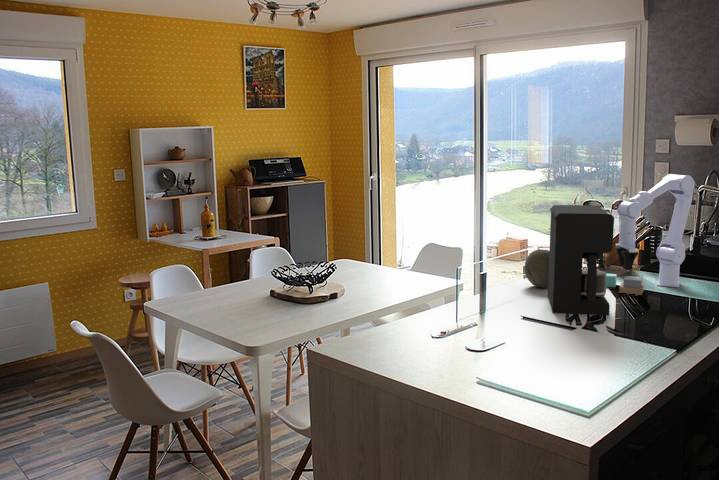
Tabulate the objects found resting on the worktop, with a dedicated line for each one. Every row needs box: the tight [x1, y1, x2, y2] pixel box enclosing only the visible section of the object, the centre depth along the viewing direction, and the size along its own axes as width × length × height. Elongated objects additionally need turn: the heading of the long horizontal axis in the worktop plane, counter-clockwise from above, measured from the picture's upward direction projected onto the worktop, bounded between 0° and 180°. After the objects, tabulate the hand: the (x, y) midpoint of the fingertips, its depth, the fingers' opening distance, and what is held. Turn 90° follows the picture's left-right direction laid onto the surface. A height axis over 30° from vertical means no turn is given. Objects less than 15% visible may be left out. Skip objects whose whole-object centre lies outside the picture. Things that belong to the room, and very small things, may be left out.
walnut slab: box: [618, 282, 645, 296], centre depth 262 cm, size 8×8×3 cm
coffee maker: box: [547, 204, 615, 316], centre depth 239 cm, size 28×20×35 cm
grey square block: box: [623, 275, 643, 288], centre depth 261 cm, size 6×6×3 cm
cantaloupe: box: [524, 249, 550, 289], centre depth 271 cm, size 14×14×15 cm
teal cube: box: [605, 272, 618, 288], centre depth 272 cm, size 4×4×4 cm
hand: (625, 267), depth 264 cm, fingers open, 7 cm apart
